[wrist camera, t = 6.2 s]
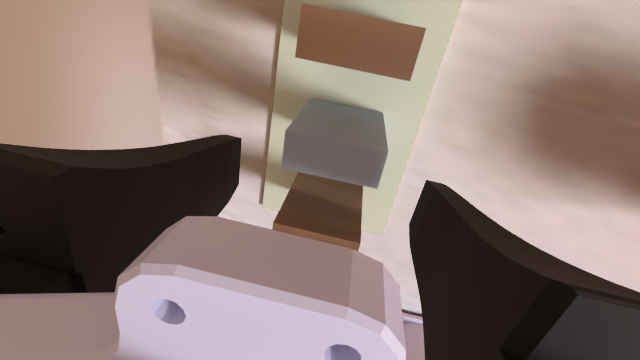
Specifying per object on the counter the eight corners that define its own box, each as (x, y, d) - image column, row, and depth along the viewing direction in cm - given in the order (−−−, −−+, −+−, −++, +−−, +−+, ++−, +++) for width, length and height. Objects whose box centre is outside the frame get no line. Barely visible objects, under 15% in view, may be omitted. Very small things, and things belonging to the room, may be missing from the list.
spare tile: (375, 140, 19) (377, 189, 14) (307, 126, 19) (281, 168, 14) (383, 112, 18) (388, 152, 13) (311, 97, 19) (285, 130, 13)
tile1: (356, 205, 22) (352, 270, 16) (296, 191, 22) (269, 250, 16) (363, 183, 21) (360, 243, 15) (299, 169, 21) (273, 222, 15)
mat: (381, 233, 23) (381, 235, 22) (263, 205, 23) (262, 207, 23) (570, -320, 11) (575, -329, 11) (323, -355, 11) (322, -364, 11)
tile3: (397, 62, 17) (410, 81, 11) (319, 46, 17) (294, 57, 12) (407, 26, 16) (426, 27, 11) (325, 10, 16) (301, 3, 11)
